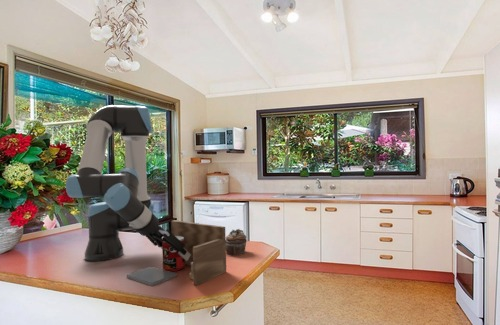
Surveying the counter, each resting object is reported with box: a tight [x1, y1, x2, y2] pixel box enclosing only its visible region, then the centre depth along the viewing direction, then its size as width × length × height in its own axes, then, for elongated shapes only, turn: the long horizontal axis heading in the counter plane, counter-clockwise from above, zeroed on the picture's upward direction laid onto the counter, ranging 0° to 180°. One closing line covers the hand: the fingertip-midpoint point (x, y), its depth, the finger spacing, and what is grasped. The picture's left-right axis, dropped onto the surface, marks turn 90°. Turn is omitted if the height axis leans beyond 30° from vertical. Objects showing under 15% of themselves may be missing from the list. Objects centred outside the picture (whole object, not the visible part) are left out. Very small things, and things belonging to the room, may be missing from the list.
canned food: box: [161, 236, 186, 272], centre depth 115 cm, size 8×8×11 cm
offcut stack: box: [189, 262, 193, 280], centre depth 107 cm, size 4×9×5 cm, turn 144°
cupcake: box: [225, 228, 247, 256], centre depth 134 cm, size 10×10×10 cm
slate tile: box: [126, 266, 177, 287], centre depth 107 cm, size 14×10×1 cm
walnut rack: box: [170, 219, 227, 286], centre depth 112 cm, size 27×14×16 cm, turn 54°
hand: (180, 255), depth 118 cm, fingers closed on canned food, 8 cm apart
